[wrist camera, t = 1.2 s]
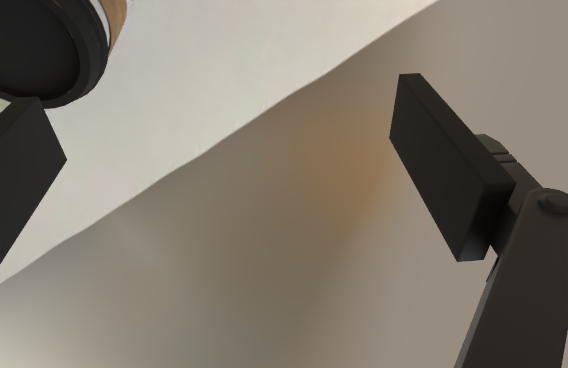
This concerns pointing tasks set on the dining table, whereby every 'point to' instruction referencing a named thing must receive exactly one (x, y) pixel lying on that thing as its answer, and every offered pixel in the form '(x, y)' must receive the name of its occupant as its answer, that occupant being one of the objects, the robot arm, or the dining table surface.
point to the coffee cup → (56, 47)
